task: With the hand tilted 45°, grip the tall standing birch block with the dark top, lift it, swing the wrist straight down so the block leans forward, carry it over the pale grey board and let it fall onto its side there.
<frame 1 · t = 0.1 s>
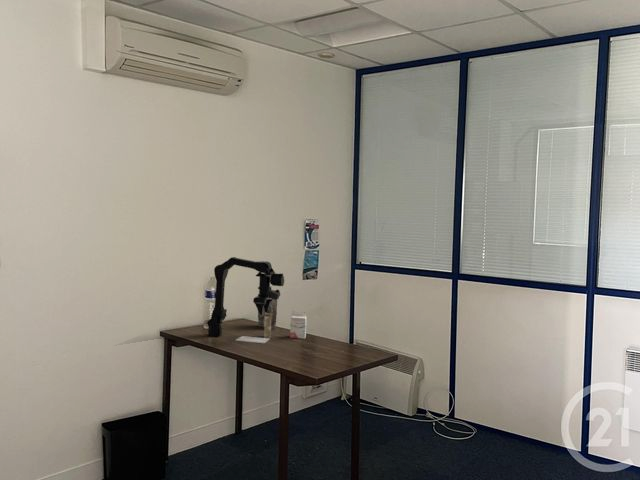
hand: (263, 313, 334), 15 cm above the table, tool pointing down, fingers open, 9 cm apart
grey board: (252, 340, 334), on the table
stone block: (267, 327, 367), on the table
ink cartridge box: (297, 337, 345), on the table
birch block: (267, 337, 342), on the table
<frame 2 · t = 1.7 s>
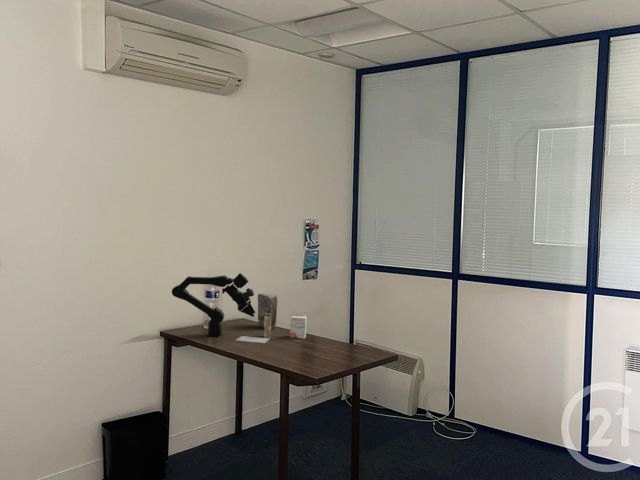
hand: (254, 314, 341), 12 cm above the table, tool tilted 45°, fingers open, 9 cm apart
nothing on the table moved.
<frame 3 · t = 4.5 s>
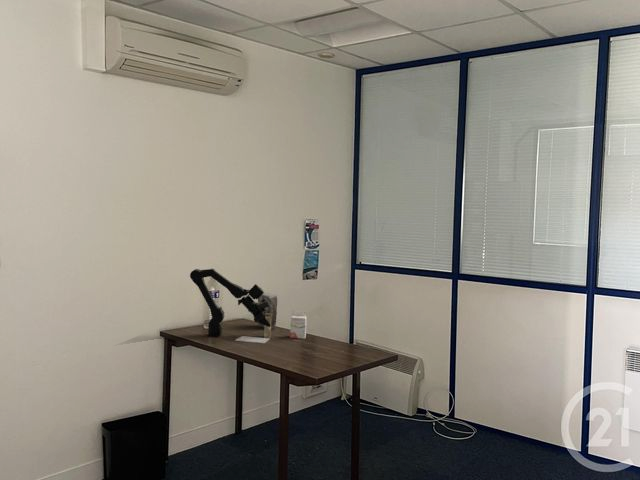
hand: (270, 325, 342), 7 cm above the table, tool tilted 45°, fingers closed on birch block, 5 cm apart
birch block: (267, 337, 342), on the table, touching gripper
everything else where it was.
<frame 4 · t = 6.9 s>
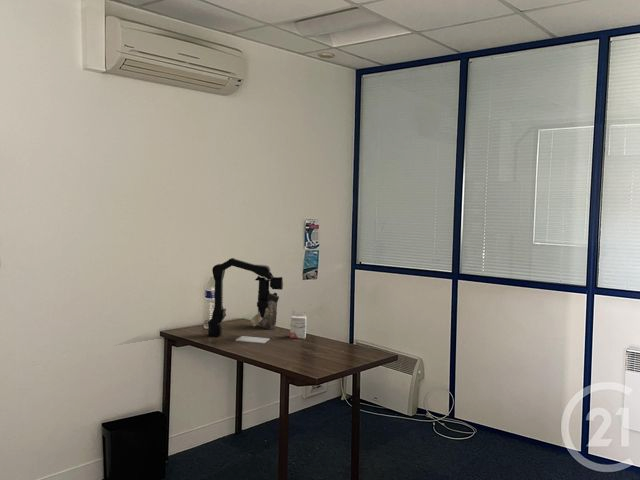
hand: (262, 316, 338), 12 cm above the table, tool pointing down, fingers closed on birch block, 5 cm apart
birch block: (252, 323, 338), point 8 cm above the table, tilted 45°, touching gripper
everything else where it was.
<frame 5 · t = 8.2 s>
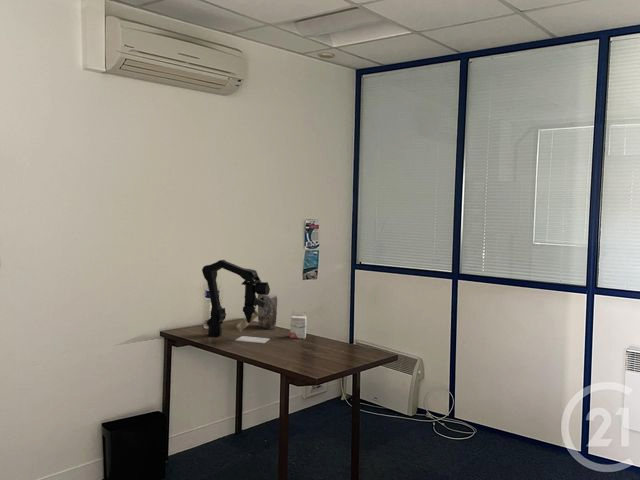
hand: (249, 322, 333), 10 cm above the table, tool pointing down, fingers closed on birch block, 5 cm apart
birch block: (238, 328, 333), point 6 cm above the table, tilted 45°, touching gripper
everything else where it was.
when the fingers open (7 cm above the table, at t = 9.5 s): birch block drops 2 cm and tips over, resting on grey board.
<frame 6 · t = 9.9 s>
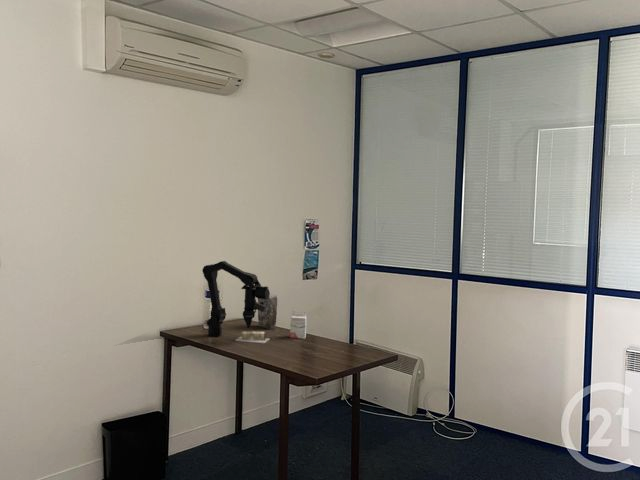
hand: (249, 326, 333), 7 cm above the table, tool pointing down, fingers open, 9 cm apart
birch block: (241, 335, 334), point 2 cm above the table, tilted 90°, touching grey board
everything else where it was.
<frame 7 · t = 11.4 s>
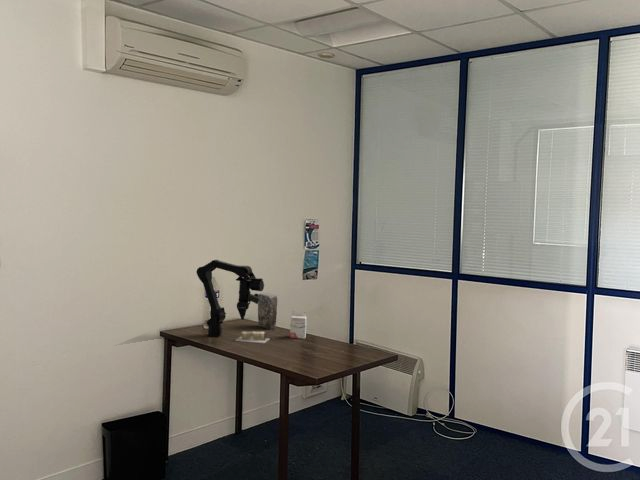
hand: (243, 317, 335), 12 cm above the table, tool pointing down, fingers open, 9 cm apart
nothing on the table moved.
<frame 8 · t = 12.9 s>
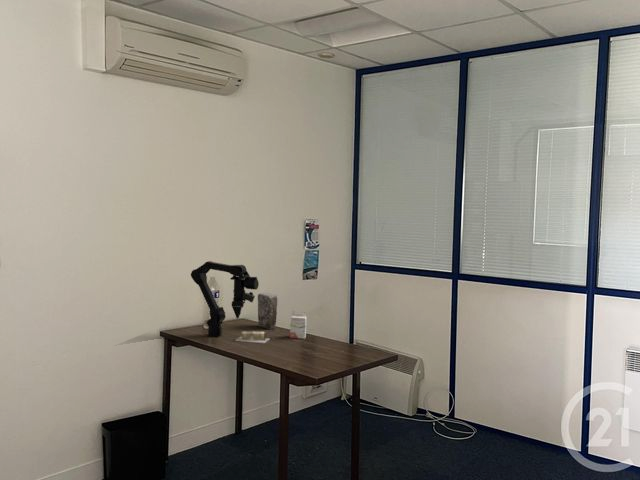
hand: (238, 316, 336), 12 cm above the table, tool pointing down, fingers open, 9 cm apart
nothing on the table moved.
at the end: birch block tilted 90°; birch block touching grey board; birch block inside the target area on the grey board (6.1 cm from its centre), point 2.2 cm above the grey board's base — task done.
